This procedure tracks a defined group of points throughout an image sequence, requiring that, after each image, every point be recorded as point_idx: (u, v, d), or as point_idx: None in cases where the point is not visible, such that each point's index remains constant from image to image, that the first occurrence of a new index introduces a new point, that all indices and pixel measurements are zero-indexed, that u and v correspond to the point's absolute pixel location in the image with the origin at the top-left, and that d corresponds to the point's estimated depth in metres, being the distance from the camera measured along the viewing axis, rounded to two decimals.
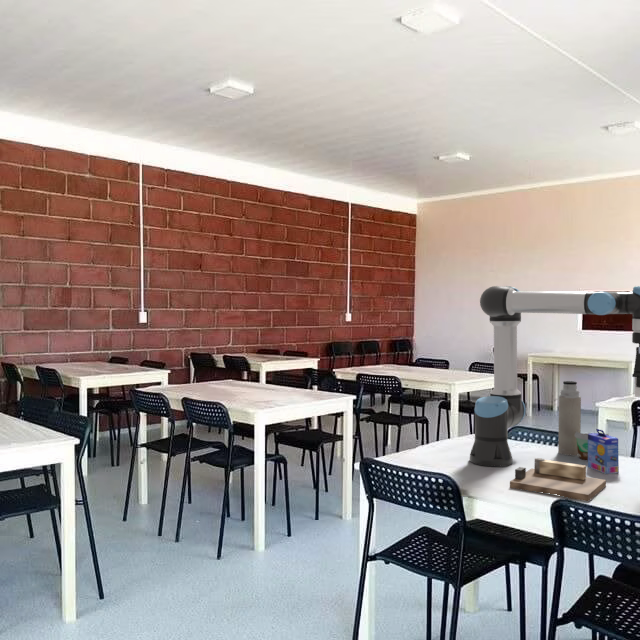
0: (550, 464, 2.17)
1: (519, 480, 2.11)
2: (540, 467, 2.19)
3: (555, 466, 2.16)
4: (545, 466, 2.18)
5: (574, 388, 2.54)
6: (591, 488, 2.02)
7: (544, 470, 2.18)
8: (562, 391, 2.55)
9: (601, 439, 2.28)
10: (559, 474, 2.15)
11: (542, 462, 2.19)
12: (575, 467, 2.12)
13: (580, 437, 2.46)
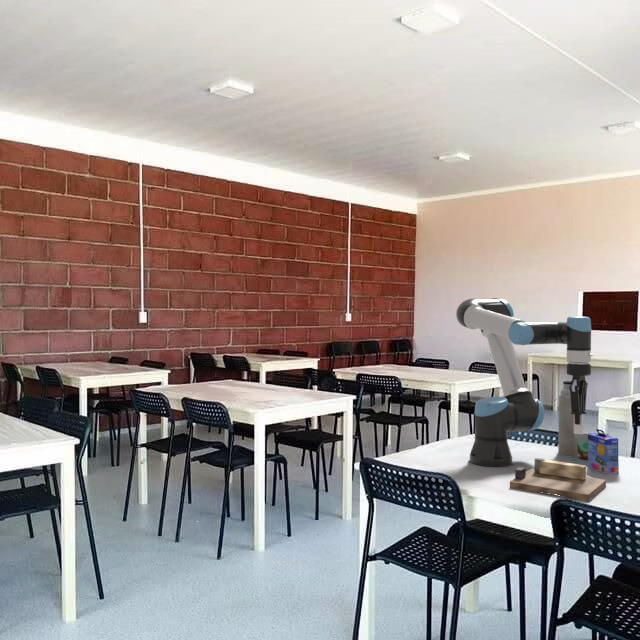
0: (550, 464, 2.17)
1: (519, 480, 2.11)
2: (540, 467, 2.19)
3: (555, 466, 2.16)
4: (545, 466, 2.18)
5: None
6: (591, 488, 2.02)
7: (544, 470, 2.18)
8: (562, 391, 2.55)
9: (601, 439, 2.28)
10: (559, 474, 2.15)
11: (542, 462, 2.19)
12: (575, 467, 2.12)
13: (580, 437, 2.46)
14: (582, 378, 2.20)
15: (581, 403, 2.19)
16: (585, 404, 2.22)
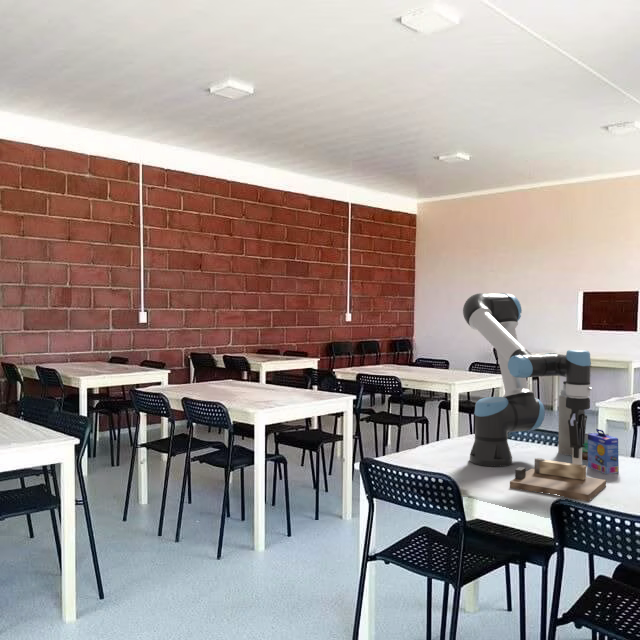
0: (550, 464, 2.17)
1: (519, 480, 2.11)
2: (540, 467, 2.19)
3: (555, 466, 2.16)
4: (545, 466, 2.18)
5: None
6: (591, 488, 2.02)
7: (544, 470, 2.18)
8: (562, 391, 2.55)
9: (601, 439, 2.28)
10: (559, 474, 2.15)
11: (542, 462, 2.19)
12: (575, 467, 2.12)
13: None
14: (581, 412, 2.20)
15: (580, 437, 2.19)
16: (584, 437, 2.23)
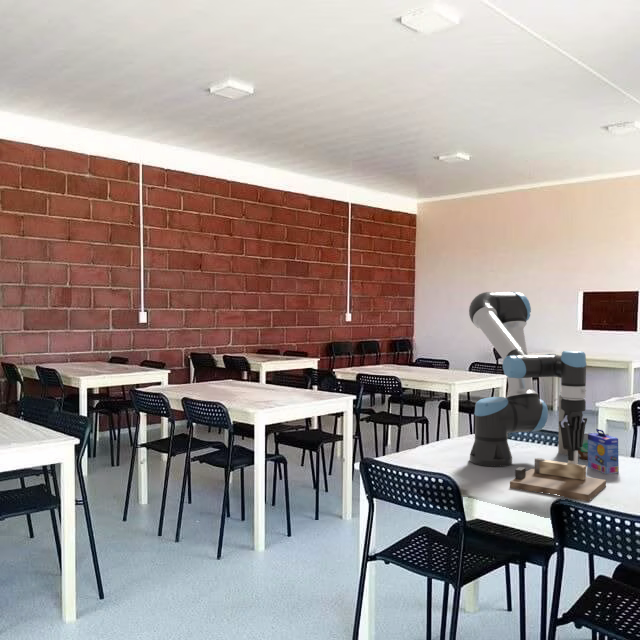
0: (550, 464, 2.17)
1: (519, 480, 2.11)
2: (540, 467, 2.19)
3: (555, 466, 2.16)
4: (545, 466, 2.18)
5: None
6: (591, 488, 2.02)
7: (544, 470, 2.18)
8: None
9: (601, 439, 2.28)
10: (559, 474, 2.15)
11: (542, 462, 2.19)
12: (575, 467, 2.12)
13: None
14: (576, 414, 2.15)
15: (574, 439, 2.15)
16: (582, 440, 2.18)
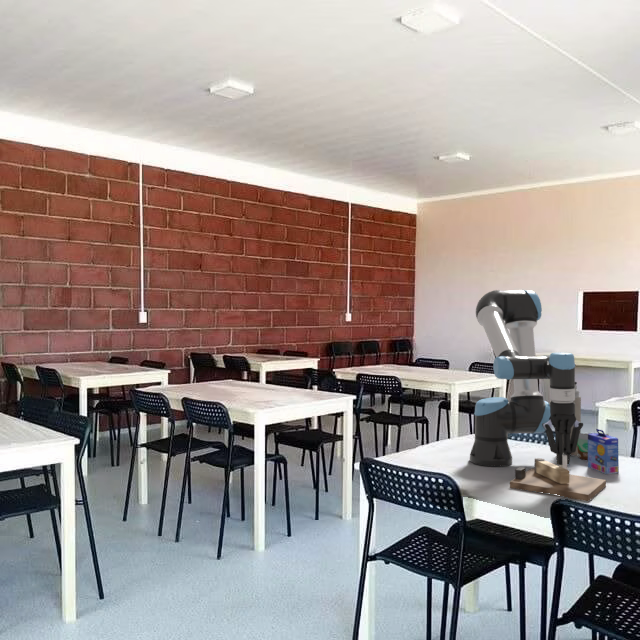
0: (542, 465, 2.16)
1: (519, 480, 2.11)
2: (536, 467, 2.20)
3: (545, 467, 2.15)
4: (539, 466, 2.18)
5: None
6: (591, 488, 2.02)
7: (538, 470, 2.18)
8: None
9: (601, 439, 2.28)
10: (547, 475, 2.14)
11: (537, 462, 2.19)
12: (556, 470, 2.09)
13: (580, 437, 2.46)
14: (565, 417, 2.10)
15: (561, 443, 2.10)
16: (575, 445, 2.10)
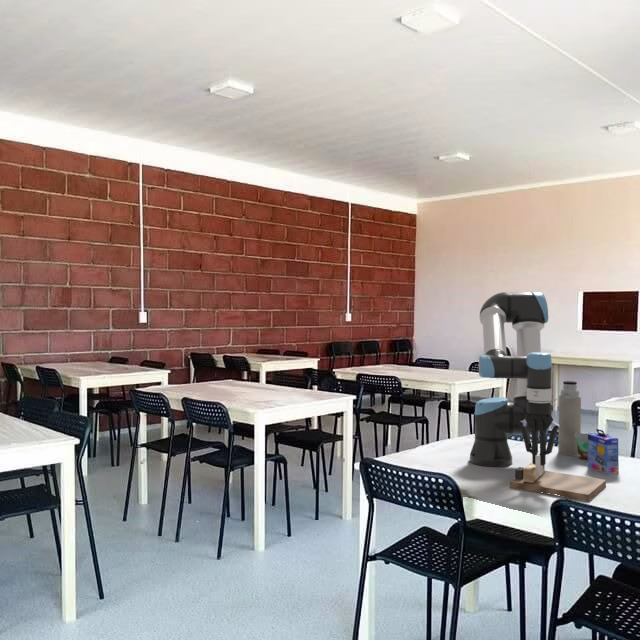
0: None
1: (519, 480, 2.11)
2: None
3: None
4: None
5: (574, 388, 2.54)
6: (591, 488, 2.02)
7: None
8: (562, 391, 2.55)
9: (601, 439, 2.28)
10: None
11: None
12: (525, 468, 2.11)
13: (580, 437, 2.46)
14: (539, 417, 2.09)
15: (534, 443, 2.10)
16: (549, 447, 2.08)
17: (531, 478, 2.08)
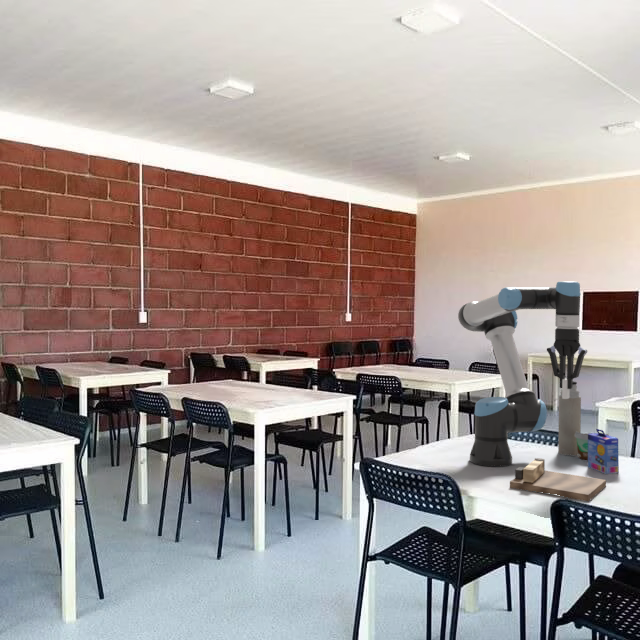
0: None
1: (519, 480, 2.11)
2: None
3: None
4: None
5: (574, 388, 2.54)
6: (591, 488, 2.02)
7: None
8: None
9: (601, 439, 2.28)
10: None
11: (533, 461, 2.20)
12: (525, 468, 2.11)
13: (580, 437, 2.46)
14: (566, 343, 2.19)
15: (562, 367, 2.20)
16: (576, 371, 2.17)
17: (531, 478, 2.08)
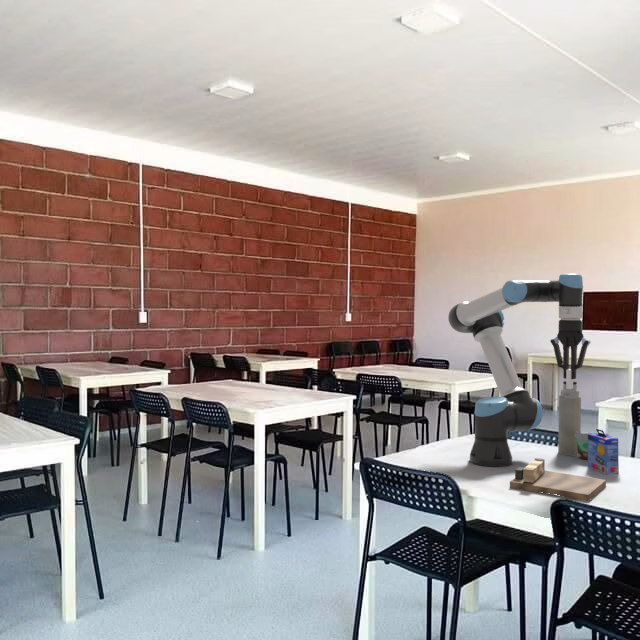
0: None
1: (519, 480, 2.11)
2: None
3: None
4: None
5: (574, 388, 2.54)
6: (591, 488, 2.02)
7: None
8: (562, 391, 2.55)
9: (601, 439, 2.28)
10: None
11: (533, 461, 2.20)
12: (525, 468, 2.11)
13: (580, 437, 2.46)
14: (570, 334, 2.24)
15: (565, 358, 2.25)
16: (580, 361, 2.22)
17: (531, 478, 2.08)
